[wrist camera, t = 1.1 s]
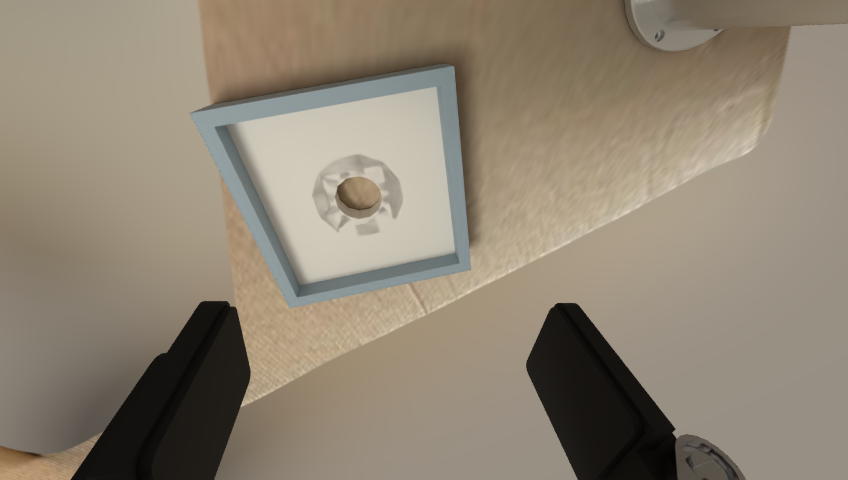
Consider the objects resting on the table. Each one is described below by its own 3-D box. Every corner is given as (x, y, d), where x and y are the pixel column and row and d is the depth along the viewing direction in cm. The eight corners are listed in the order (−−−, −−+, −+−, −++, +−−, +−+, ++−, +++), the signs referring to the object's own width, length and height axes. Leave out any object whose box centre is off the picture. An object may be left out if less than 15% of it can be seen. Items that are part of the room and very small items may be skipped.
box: (443, 63, 28) (454, 65, 24) (461, 250, 39) (471, 269, 35) (211, 104, 27) (189, 113, 23) (296, 284, 38) (289, 308, 34)
